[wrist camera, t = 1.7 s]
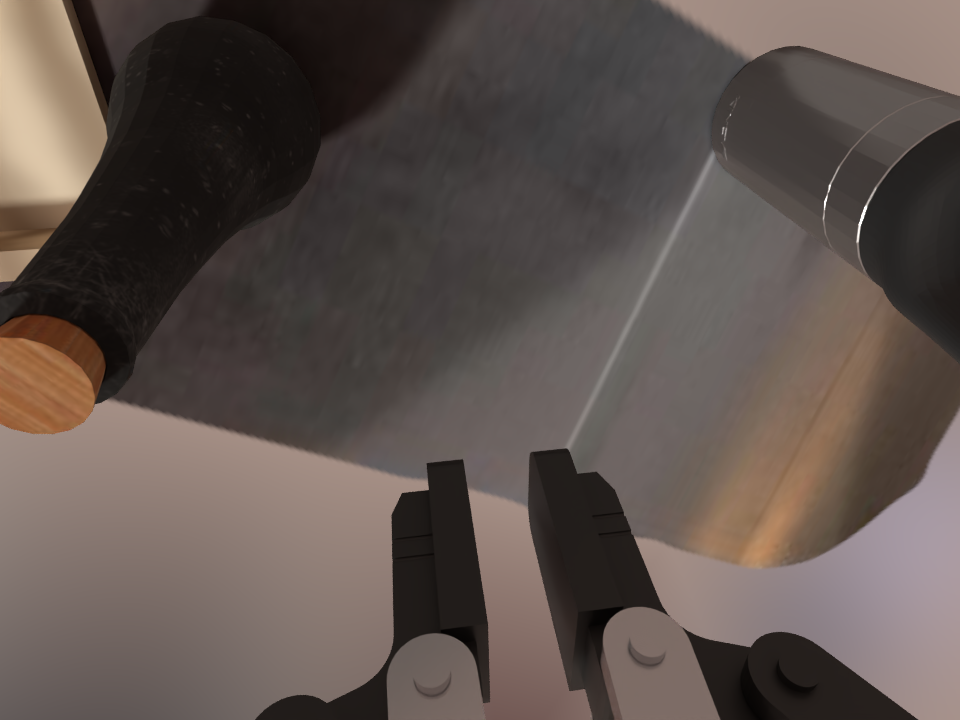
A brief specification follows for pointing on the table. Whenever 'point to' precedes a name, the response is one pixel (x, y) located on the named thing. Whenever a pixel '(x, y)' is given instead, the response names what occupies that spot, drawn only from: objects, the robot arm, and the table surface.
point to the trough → (44, 124)
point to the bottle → (153, 211)
